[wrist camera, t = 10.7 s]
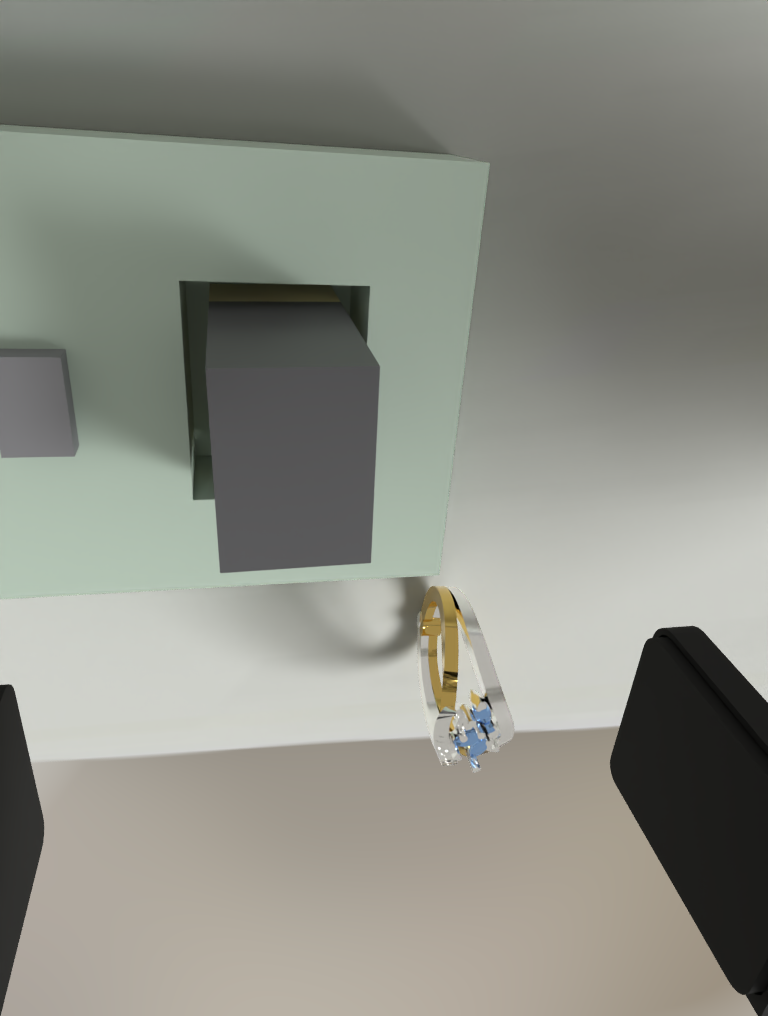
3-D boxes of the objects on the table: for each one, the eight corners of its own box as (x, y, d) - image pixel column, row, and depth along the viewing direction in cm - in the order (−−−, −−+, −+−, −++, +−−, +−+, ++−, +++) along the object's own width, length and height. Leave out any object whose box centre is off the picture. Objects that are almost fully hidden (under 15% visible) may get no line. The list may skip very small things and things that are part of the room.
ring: (401, 551, 31) (453, 677, 24) (472, 551, 32) (541, 673, 25) (383, 676, 35) (424, 818, 28) (447, 673, 35) (503, 811, 28)
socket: (451, 154, 24) (499, 164, 20) (414, 522, 31) (445, 587, 27) (-86, 118, 21) (-161, 122, 17) (2, 538, 27) (-36, 615, 23)
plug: (330, 284, 25) (380, 365, 17) (328, 434, 27) (371, 563, 20) (209, 283, 24) (205, 368, 16) (219, 437, 27) (220, 573, 19)
